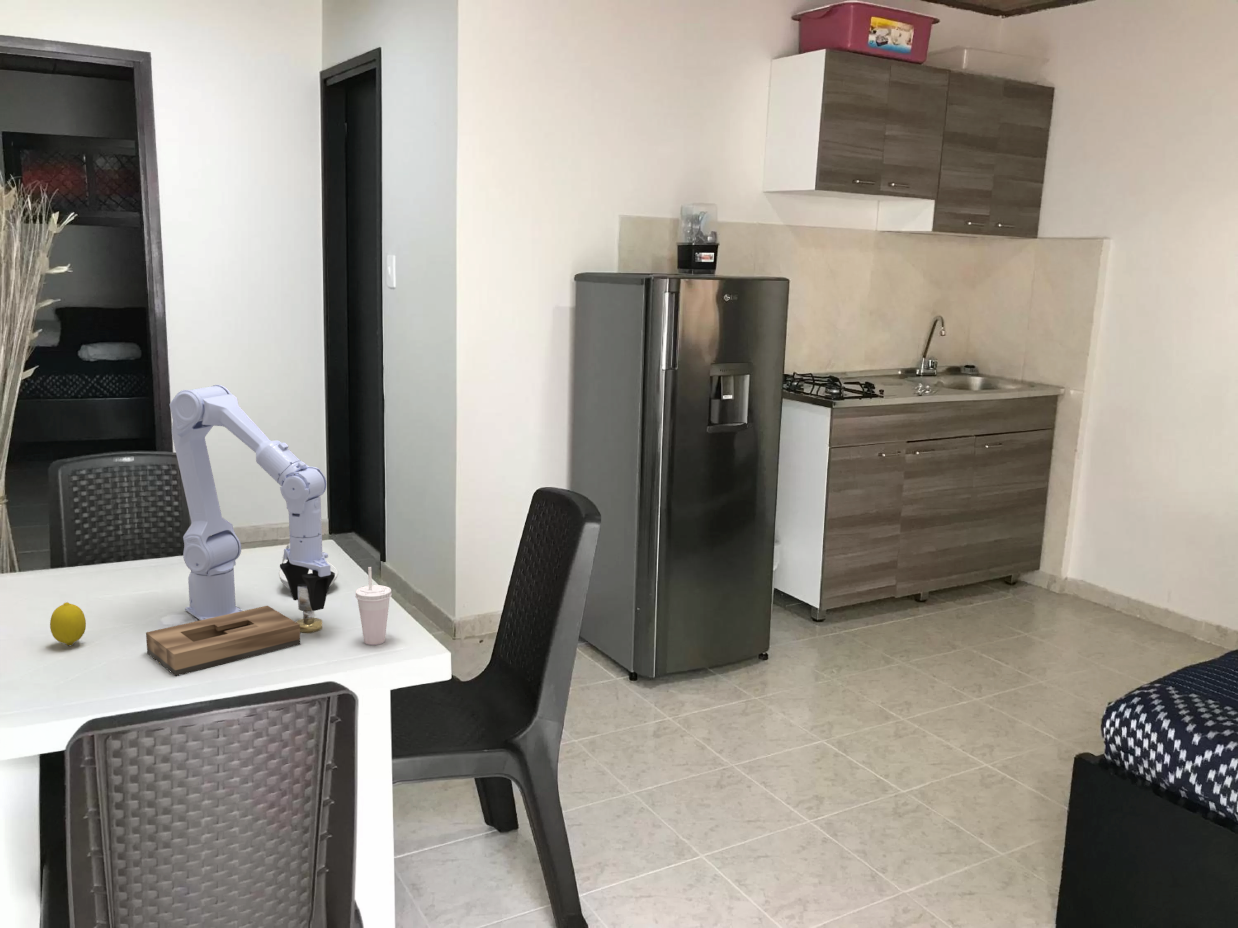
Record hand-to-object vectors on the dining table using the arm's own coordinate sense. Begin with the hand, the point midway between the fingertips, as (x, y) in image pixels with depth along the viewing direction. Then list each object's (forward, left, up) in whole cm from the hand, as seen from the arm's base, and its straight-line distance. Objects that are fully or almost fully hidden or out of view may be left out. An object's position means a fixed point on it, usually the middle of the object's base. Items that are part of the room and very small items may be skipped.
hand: (308, 604), depth 190 cm
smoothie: (+13, +6, -5) cm, 16 cm away
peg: (0, 0, -5) cm, 5 cm away
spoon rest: (-27, +12, -5) cm, 30 cm away
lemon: (-19, -36, -5) cm, 41 cm away
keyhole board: (0, -16, -5) cm, 17 cm away
